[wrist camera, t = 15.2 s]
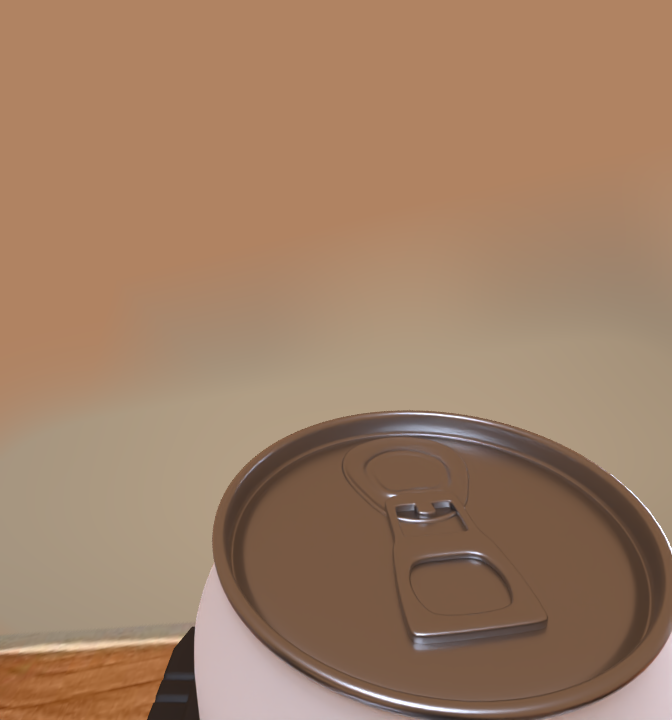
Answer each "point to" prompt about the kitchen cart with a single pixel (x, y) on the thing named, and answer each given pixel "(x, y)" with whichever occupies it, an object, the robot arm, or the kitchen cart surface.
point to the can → (432, 580)
